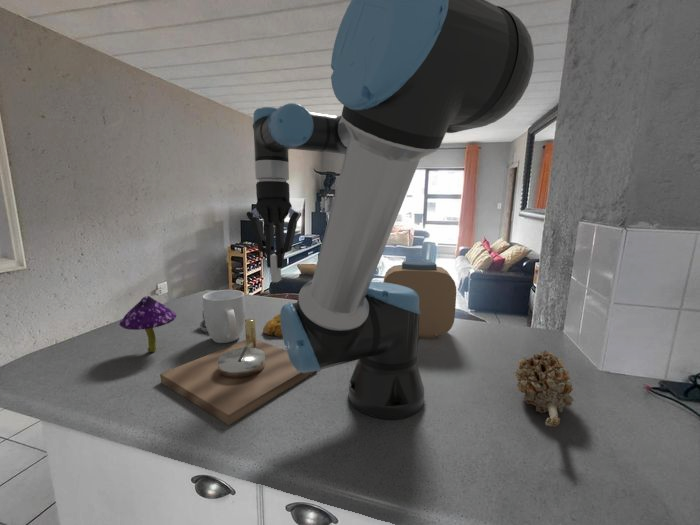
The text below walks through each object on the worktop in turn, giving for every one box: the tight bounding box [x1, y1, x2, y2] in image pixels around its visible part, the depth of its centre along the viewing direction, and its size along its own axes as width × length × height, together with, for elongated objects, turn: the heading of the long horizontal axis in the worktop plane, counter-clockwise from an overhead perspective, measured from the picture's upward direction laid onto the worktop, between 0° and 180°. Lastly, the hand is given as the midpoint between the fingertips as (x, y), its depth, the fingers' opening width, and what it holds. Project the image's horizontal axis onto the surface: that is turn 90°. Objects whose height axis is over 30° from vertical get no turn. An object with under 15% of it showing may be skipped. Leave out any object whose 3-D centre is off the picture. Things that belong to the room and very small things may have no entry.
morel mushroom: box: [514, 350, 575, 427], centre depth 61 cm, size 22×10×10 cm, turn 161°
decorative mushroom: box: [119, 295, 177, 353], centre depth 84 cm, size 12×12×15 cm
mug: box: [202, 289, 246, 344], centre depth 92 cm, size 15×11×13 cm
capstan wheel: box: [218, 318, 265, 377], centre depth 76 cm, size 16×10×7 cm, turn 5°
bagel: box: [262, 314, 283, 338], centre depth 100 cm, size 10×11×5 cm
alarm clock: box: [382, 261, 457, 339], centre depth 99 cm, size 21×10×22 cm, turn 82°
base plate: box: [159, 339, 317, 426], centre depth 74 cm, size 24×24×2 cm
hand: (276, 280), depth 80 cm, fingers closed
